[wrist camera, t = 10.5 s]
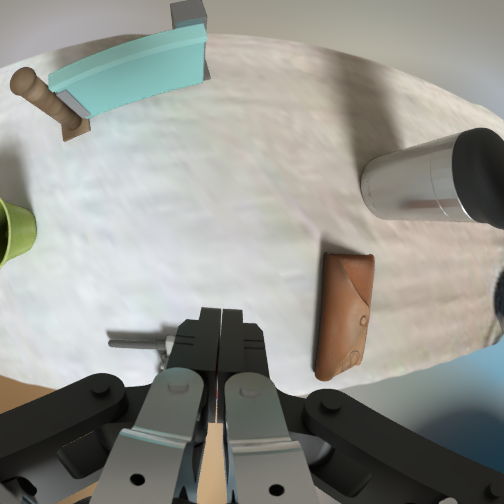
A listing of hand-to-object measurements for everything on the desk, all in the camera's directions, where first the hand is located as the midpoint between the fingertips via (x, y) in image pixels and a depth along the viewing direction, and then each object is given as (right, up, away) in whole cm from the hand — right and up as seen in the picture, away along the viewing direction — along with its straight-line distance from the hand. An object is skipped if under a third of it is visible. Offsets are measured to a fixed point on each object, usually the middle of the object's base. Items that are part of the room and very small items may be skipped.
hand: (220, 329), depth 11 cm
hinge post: (-22, +20, +19) cm, 35 cm away
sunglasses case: (+14, -6, +29) cm, 33 cm away
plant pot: (-30, +6, +20) cm, 37 cm away
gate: (-13, +22, +20) cm, 32 cm away
